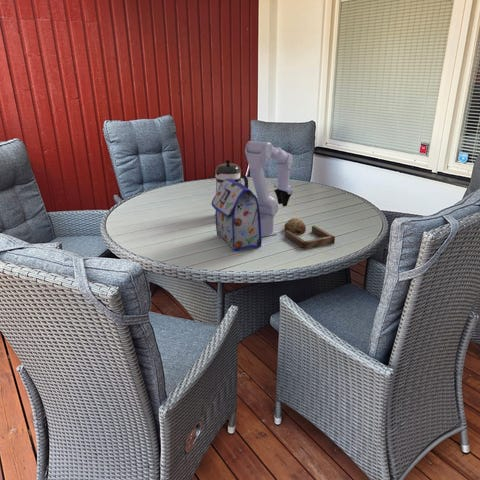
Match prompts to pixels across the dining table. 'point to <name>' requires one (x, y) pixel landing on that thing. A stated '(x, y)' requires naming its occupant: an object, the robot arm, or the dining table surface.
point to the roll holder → (324, 240)
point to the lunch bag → (237, 215)
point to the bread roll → (295, 226)
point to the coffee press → (229, 174)
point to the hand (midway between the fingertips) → (282, 204)
